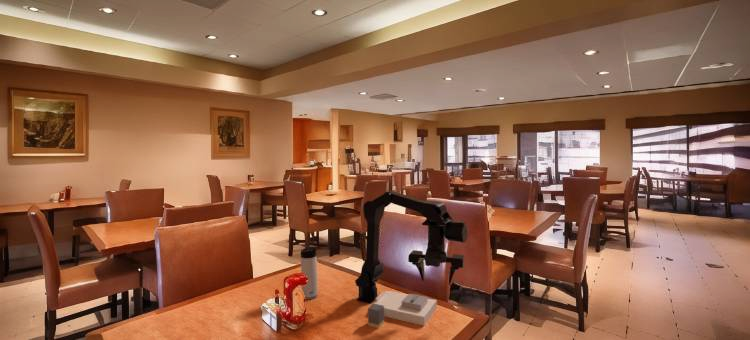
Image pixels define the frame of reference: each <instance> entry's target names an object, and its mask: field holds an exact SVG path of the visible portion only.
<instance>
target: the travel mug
mask: <svg viewBox="0 0 750 340" xmlns="http://www.w3.org/2000/svg"><path fill="white" fill-rule="evenodd" d="M317 250H318V247H315V246H310V247H305V248H303V249H302V250H300V274H301V273H303V274H305V275H306V276H307V278H308V281H307V285H305V286H302V285H301V291H302V290H303V292H304V295H305V298H306V299H307V301H311V300H314V299H316V298H317V297H318V296H319V295H318V268H317V267H318V262H317V261H318V260H317V258H318V257H317ZM306 299H305V300H306Z"/></svg>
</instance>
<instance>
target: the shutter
mask: <svg viewBox="0 0 750 340" xmlns="http://www.w3.org/2000/svg"><path fill="white" fill-rule="evenodd" d="M428 299H429V298H428V296H423V295H419V294H416V293H415V294H413V293H408V295H407V296H406V297H405V298H404V299H403V300H402V307H405V308H409V309H414V310H419V311H421V310H422V309H423V308H424V306H425V305H426V304H427V303H428Z"/></svg>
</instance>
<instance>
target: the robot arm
mask: <svg viewBox="0 0 750 340" xmlns="http://www.w3.org/2000/svg"><path fill="white" fill-rule="evenodd" d="M391 204H392V205H395V206H396V205H397V206H399V207H402V208H406V209H407V210H412V211H415V212H417V213H418V214H420V215H421V216H422V217H424V218H426V219H425V220H424V221H423V222H422V223H421V225H422V226H425V227H426V226H427V244H426V245H427V248H426V251H425V254H424V253H423V251H422V250H411V252H410V253H409V254H408V257H407V258H408V261H407V262H408V263H411V264H412V265H413V266H415V267H416V268H417V270H418V272H419V276H420V279H421V281H422V282H425V266H427V267H434V268H435V267H436V268H439V267H440V266H441V264H443V263H444V264H446V263H448V264H449V263H450V267H449V277H448V285H449V286H450V285H451V283H452V281H453V279H454V278H453V277H454V274H455V273H456V271H457V270H460V269H462V268H464V265H465V263H466V262H465V260H466V259H465V255H464V254H458V253H456V254H455V253H453V254H452V255H451V256H447V252H446V249H445V248H446V247H445V246H446V244H445V243H446V241H445V240H447V241H448V242H456V243H466V242H467V240H468V234H469V231H468V227H467V225H466V221H455V220H453V217H451V214H450V213H449V212H448V210H447V207H446V205H445V203H444V202H442V201H437V200H423V199H419V198H416V197H412V196H410V195H407V194H406V195H405V194H402V193H400V192H397V191H395V190H388V191H385V192H384V193H383V194H381V195H379V196H377V197H376V198H374V199H370V200H368V201H365V203H363V207H362V208H363V209H362V210H363V216H364V220H365V222H366V240H365V241H366V243H365V244H366V245H365V248H366V249H365V259H364V261H363V264H362V266H361V270H360V271H361V272H360V275H359V276H358V277H357V278H356V279H355V280H354V282H355V285H356V287H358V297H356V301H360V302H364V303H370V304H371V303H372V304H373V303H374V302H375V301H376V297H378V296H379V295H378V287H377V283H376V282H378V281H379V278H381V276H382V274H383V273H384V269H383V268H384V262H381V261H380V259H379V248H380V247H379V246H380V245H379V244H380V224H381V221H382V218H383V217H384V213H385V209H386V208H387V207H388V206H390V205H391Z"/></svg>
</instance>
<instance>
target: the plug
mask: <svg viewBox="0 0 750 340" xmlns="http://www.w3.org/2000/svg"><path fill="white" fill-rule="evenodd" d="M367 320H368V321H367V326H368V327H372V328H375V329H380V328H381V327H382V326H383V325H384V324H385V316H384V306H383V305H378V304H373V303H372V304H371V305H370V306H369V307H368V308H367Z"/></svg>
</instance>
